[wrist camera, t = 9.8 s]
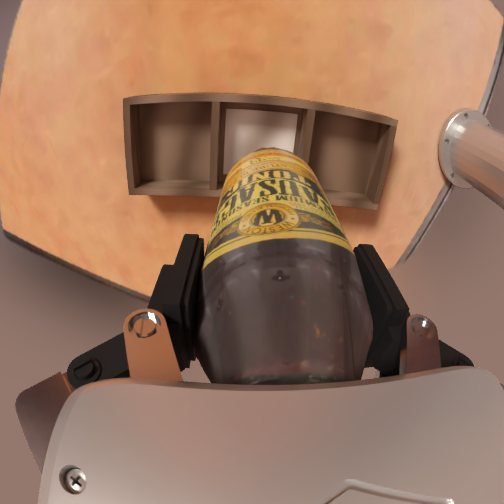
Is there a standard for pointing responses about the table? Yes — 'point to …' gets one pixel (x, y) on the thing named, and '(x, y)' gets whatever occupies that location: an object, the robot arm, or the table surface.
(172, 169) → the walnut rack
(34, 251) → the table surface
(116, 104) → the table surface
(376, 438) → the robot arm
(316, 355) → the sauce bottle
